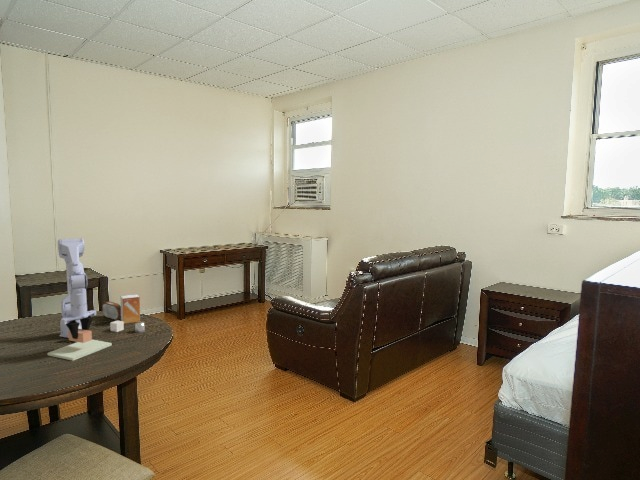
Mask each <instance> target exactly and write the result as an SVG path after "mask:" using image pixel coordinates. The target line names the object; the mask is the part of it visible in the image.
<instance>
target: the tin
mask: <svg viewBox="0 0 640 480" xmlns="http://www.w3.org/2000/svg"><path fill="white" fill-rule="evenodd" d="M101 308H102V314H103V315H104V316H105V318H108V319H110V318H111V319H110V320H113V319H114V320H113V321H117V320H118V321H120V320H121V304H119V303H118V302H117V303H116V302H114V301H111V300H110V301H105V302H104V303H102V306H101Z"/></svg>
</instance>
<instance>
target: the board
mask: <svg viewBox="0 0 640 480" xmlns="http://www.w3.org/2000/svg"><path fill="white" fill-rule="evenodd" d="M111 346H112V342H108V341H102V340H97V339H92V340H90V341H87V342H85V343H81V342H74V343H71V344H69V345H66V346H62V347H60V348H56V349H55V350H51V351H49V352H47V356H49V357H54V358H59V359H65V360H68V361H72V362H74V361H76V360H78V359H81V358H83V357H86V356H88V355H92V354H94V353H96V352H99V351H101V350H103V349H106V348H109V347H111Z"/></svg>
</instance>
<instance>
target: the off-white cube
mask: <svg viewBox="0 0 640 480" xmlns="http://www.w3.org/2000/svg"><path fill="white" fill-rule="evenodd" d="M109 325H110V326H109V327H110V332H116V333H119V332H121V331H124V330H125V328H124V327H125V326H124V325H125V324H124V321H121V320H113V321H111V322H110V323H109Z"/></svg>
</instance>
